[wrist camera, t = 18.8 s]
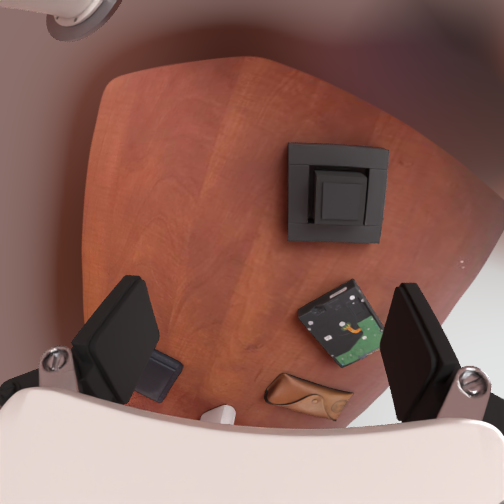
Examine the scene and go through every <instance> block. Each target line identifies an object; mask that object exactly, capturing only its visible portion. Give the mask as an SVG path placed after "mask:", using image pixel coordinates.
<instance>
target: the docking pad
mask: <svg viewBox="0 0 504 504" xmlns="http://www.w3.org/2000/svg"><path fill="white" fill-rule="evenodd" d="M388 161H389V150H387V149H384V148H379V147H368V146H356V145H342V144H323V143H288V241H314V242H348V243H378V244H379V243H380V236H381V230H382V221H383V214H384V205H385V196H386V186H387V175H388ZM314 169H329V170H348V171H360V172H361V173H362V174H363V175H364V176H366V177H367V186H366V198H365V209H364V218H363V226H352V225H324V224H314V219H313V214H312V210H313V179H314Z"/></svg>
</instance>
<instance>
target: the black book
mask: <svg viewBox="0 0 504 504" xmlns="http://www.w3.org/2000/svg"><path fill="white" fill-rule="evenodd" d="M182 368H183V365H182V364H181V363H180V362H179V361H177V360H175V359H173V358H171V357H169V356H167V355H165V354H163V353H161V352H159V351H157V350H155V349H154V351H153V353H152V355H151V357H150V359H149V361H148V363H147V365H146V367H145V369H144V371H143V373H142V375H141V377H140V379H139V381H138V383H137V385H136V387H135V389H134V390H135V391H136V392H138V393H140V394H142V395H144V396H146V397H148V398H150V399H152V400H154V401H156V402H159V403H161V402H162V401H163V400H164V398H165V396H166V395H167V393H168V391H169V390H170V388H171V386H172V385H173V383H174V382H175V380H176V379H177V377H178V376H179V374H180V373H181V371H182Z"/></svg>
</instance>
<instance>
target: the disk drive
mask: <svg viewBox="0 0 504 504" xmlns="http://www.w3.org/2000/svg"><path fill="white" fill-rule="evenodd" d="M298 318H299V320H300V321H301V322H302V324H303V325H304V326H305V327H306V328H307V329H308V330H309V331H310V333H311V334H312V335H313V336H314V337H315V338H316V339H317V341H318V342H319V343H320V344H321V345H322V346H323V348H324V349H325V350H326V351H327V352H328V353H329V355H330V356H331V357H332V358H333V359H334V361H335V362H336V363H337V364H338V365H339V366H340V367H341V368H343V367H345V366H348V365H350V364H352V363H354V362H356V361H358V360H360V359H363V358H365V357H367V354H368V355H369V354H371V353H373V351H374V352H375V351H377V350H379V349H380V340H381V337H382V334H383V331H384V326H383V325H382V323H381V322H380V320H379V318H378V317H377V315H376V313H375V312H374V310H373V309H372V307H371V305H370V304H369V302H368V301H367V299H366V298H365V296H364V294H363V293H362V291H361V289H360V288H359V286H358V285H357V283H356V282H355V280H354V279H351V280H350V281H348V282H346V283H344V284H342V285H341V286H339V287H337V288H335V289H334V290H332V291H330V292H328V293H327V294H325V295H323V296H321V297H319V298H318V299H316V300H314V301H312V302H310V303H308V304H307V305H305V306H304V307H302V308H300V309H298Z"/></svg>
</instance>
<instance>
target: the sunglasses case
mask: <svg viewBox="0 0 504 504" xmlns="http://www.w3.org/2000/svg"><path fill="white" fill-rule="evenodd" d="M353 395H354V393H350V392H344V391H340V390H336V389H332V388H329V387H325V386H322V385H319V384H316V383H313V382H310V381H307V380H304V379H301V378H298V377H295V376H292V375H288V374H285V373H284V374H281V375H280V376H278V377H277V378H276V379H275V380H274V381H273V382H272V383H271V384H270V385H269V386H268V387H267V389H266V392H265V396H264V399H265V401H266V402H267V403H269V404H272V405H277V406H281V407H284V408H287V409H290V410H293V411H297V412H300V413H304V414H308V415H312V416H317V417H322V418H326V419H330V420H333V421H336V419H337V418H338V416H339V415H340V413H341V411H342V410H343V408H344V407H345V405H346V403H347V402H348V400H349V398H350V397H351V396H353Z"/></svg>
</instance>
